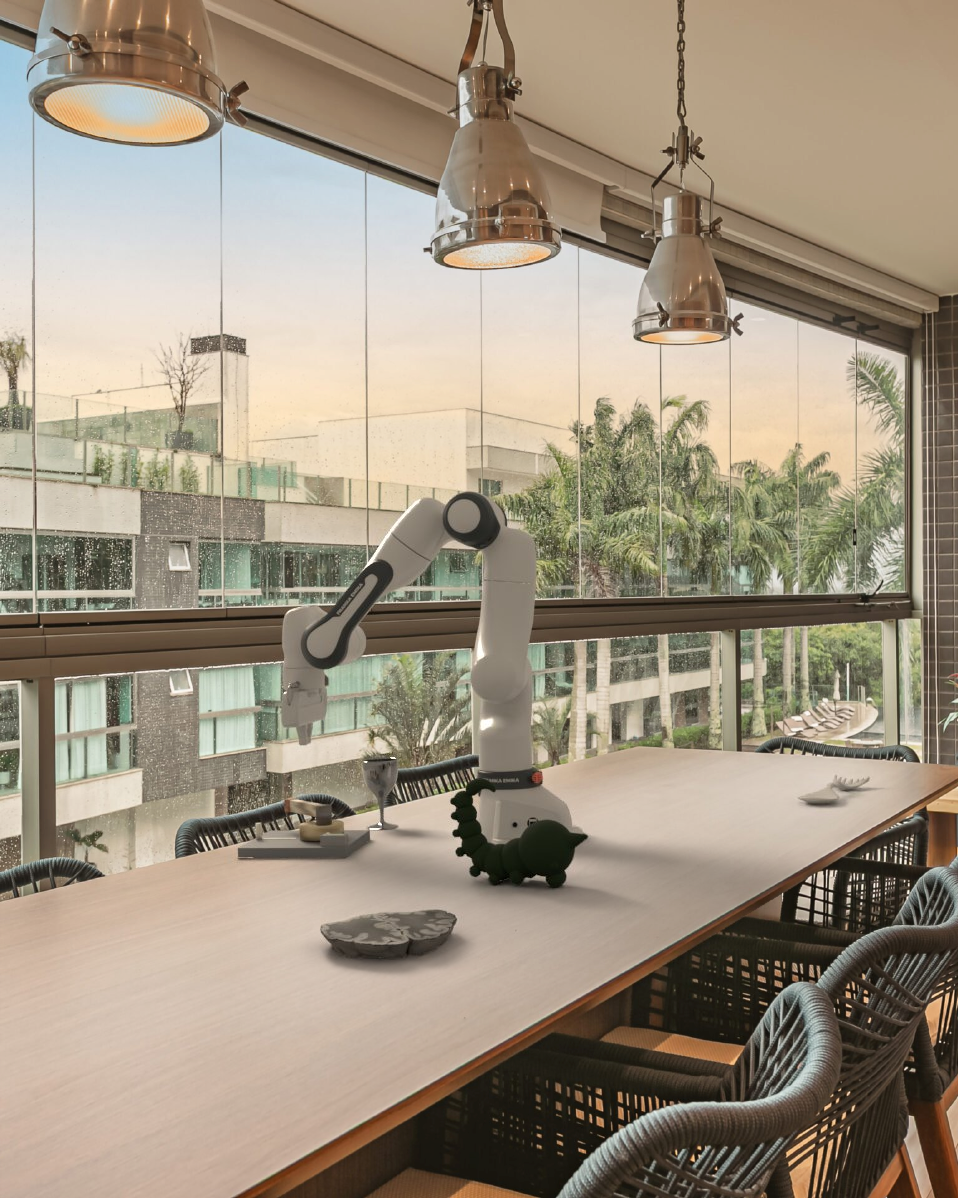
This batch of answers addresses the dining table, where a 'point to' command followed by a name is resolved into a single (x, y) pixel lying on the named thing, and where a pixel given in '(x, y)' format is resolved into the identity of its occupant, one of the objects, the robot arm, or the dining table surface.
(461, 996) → the dining table surface
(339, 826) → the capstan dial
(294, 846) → the stand
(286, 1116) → the dining table surface
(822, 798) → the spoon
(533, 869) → the toy figurine
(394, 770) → the wine glass
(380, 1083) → the dining table surface
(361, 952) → the brain slice
